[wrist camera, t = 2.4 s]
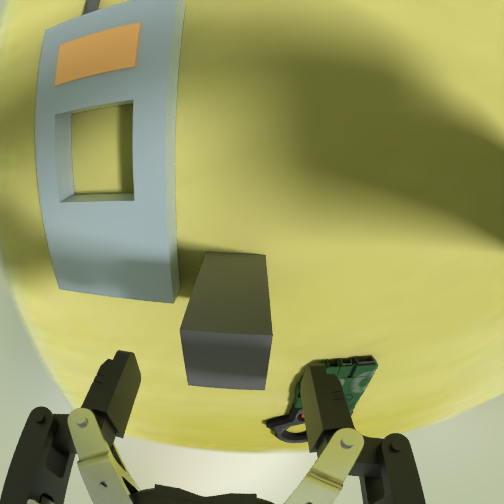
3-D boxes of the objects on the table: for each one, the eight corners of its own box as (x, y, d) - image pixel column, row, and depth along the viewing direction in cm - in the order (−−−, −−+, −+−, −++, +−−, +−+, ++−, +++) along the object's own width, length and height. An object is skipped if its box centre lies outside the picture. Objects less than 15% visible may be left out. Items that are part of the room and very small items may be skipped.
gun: (281, 366, 22) (385, 361, 22) (279, 354, 23) (380, 351, 24) (262, 443, 29) (337, 440, 29) (262, 434, 30) (335, 431, 30)
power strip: (208, -97, 6) (204, -110, 4) (180, 287, 20) (173, 305, 18) (96, -70, 6) (86, -79, 4) (71, 276, 20) (58, 290, 18)
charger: (265, 254, 19) (272, 335, 11) (261, 303, 20) (264, 390, 13) (206, 252, 19) (179, 329, 11) (207, 300, 20) (188, 385, 13)
